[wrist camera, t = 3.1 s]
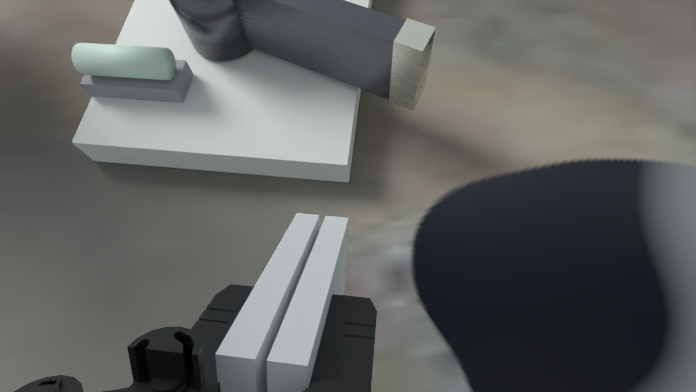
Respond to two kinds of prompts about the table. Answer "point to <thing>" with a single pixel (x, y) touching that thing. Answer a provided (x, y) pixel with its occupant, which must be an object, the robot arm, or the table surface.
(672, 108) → the table surface
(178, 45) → the instrument base
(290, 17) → the dark grey lever
